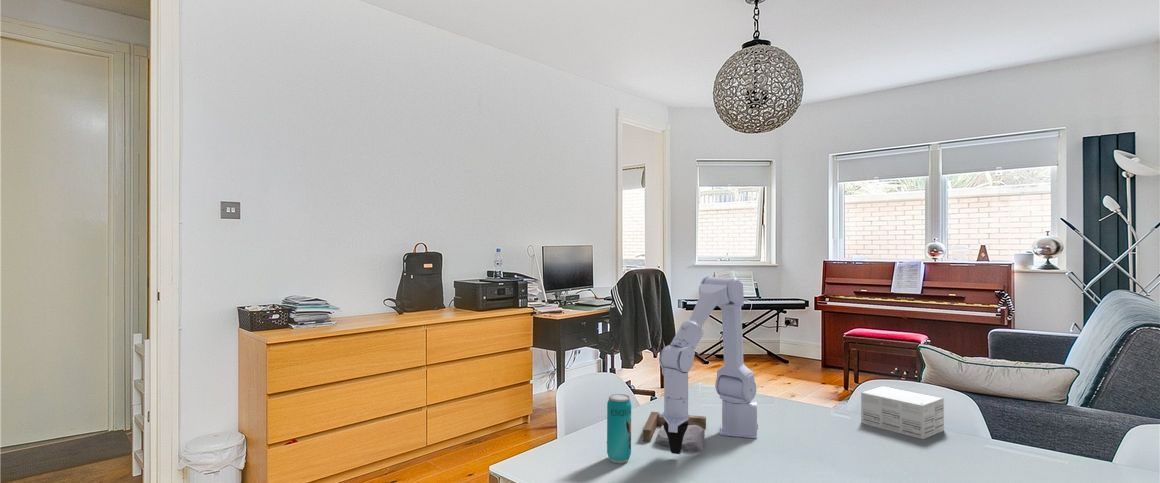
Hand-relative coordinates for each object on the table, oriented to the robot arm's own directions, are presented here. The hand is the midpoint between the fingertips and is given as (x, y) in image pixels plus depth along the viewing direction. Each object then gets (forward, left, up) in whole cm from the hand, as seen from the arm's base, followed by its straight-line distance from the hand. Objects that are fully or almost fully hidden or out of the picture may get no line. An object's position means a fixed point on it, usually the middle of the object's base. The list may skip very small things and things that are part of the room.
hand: (675, 452), depth 130 cm
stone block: (0, -11, -2) cm, 11 cm away
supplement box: (-60, -43, -2) cm, 74 cm away
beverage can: (+13, +5, -2) cm, 14 cm away
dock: (+2, -17, -1) cm, 18 cm away
